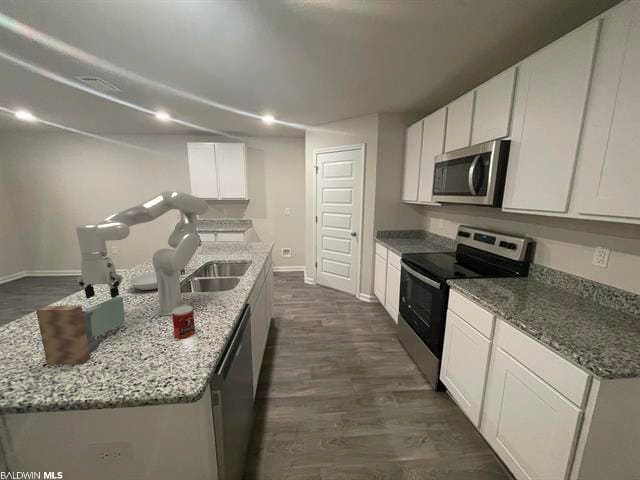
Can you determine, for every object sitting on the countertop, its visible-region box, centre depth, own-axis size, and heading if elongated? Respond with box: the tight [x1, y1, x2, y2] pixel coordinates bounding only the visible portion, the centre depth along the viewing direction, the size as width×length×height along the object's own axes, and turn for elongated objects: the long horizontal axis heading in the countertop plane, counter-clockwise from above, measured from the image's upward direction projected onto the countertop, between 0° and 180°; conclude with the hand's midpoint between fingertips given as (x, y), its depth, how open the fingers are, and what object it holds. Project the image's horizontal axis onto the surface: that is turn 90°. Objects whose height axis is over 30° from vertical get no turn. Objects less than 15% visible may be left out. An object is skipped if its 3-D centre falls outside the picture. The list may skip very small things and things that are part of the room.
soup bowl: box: [127, 271, 158, 291], centre depth 155 cm, size 24×24×7 cm
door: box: [82, 296, 126, 343], centre depth 99 cm, size 5×21×11 cm, turn 1°
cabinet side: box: [35, 305, 100, 366], centre depth 88 cm, size 12×10×20 cm
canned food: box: [171, 305, 196, 340], centre depth 103 cm, size 8×8×11 cm
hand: (103, 296), depth 100 cm, fingers open, 9 cm apart
